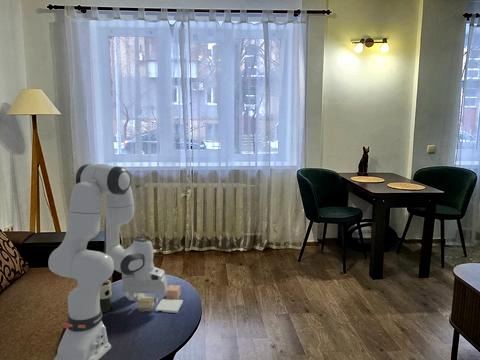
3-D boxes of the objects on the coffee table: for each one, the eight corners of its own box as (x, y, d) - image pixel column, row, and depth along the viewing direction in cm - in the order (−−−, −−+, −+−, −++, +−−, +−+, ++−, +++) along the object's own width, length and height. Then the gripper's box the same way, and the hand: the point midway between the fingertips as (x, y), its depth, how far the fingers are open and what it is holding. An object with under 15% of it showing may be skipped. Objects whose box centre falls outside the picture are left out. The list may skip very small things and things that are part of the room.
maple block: (149, 312, 182) (149, 302, 181) (138, 311, 183) (137, 302, 182) (154, 306, 188) (153, 297, 187) (142, 305, 188) (142, 296, 187)
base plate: (177, 312, 181) (177, 310, 181) (155, 311, 183) (155, 309, 183) (183, 302, 191) (182, 300, 191) (162, 300, 192) (162, 298, 192)
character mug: (105, 317, 178) (103, 289, 175) (90, 315, 179) (88, 287, 176) (117, 304, 188) (115, 278, 186) (103, 303, 190) (101, 277, 187)
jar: (147, 298, 195) (146, 274, 193) (130, 302, 190) (129, 278, 188) (140, 290, 202) (139, 268, 200) (123, 295, 198) (122, 271, 195)
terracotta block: (177, 299, 194) (177, 290, 193) (166, 298, 194) (166, 290, 194) (180, 294, 199) (180, 285, 198) (169, 293, 200) (169, 284, 199)
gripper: (118, 274, 181) (121, 303, 184) (164, 277, 178) (165, 305, 181) (124, 268, 187) (126, 296, 190) (168, 270, 184) (169, 298, 187)
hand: (145, 301), depth 185 cm, fingers open, 8 cm apart
